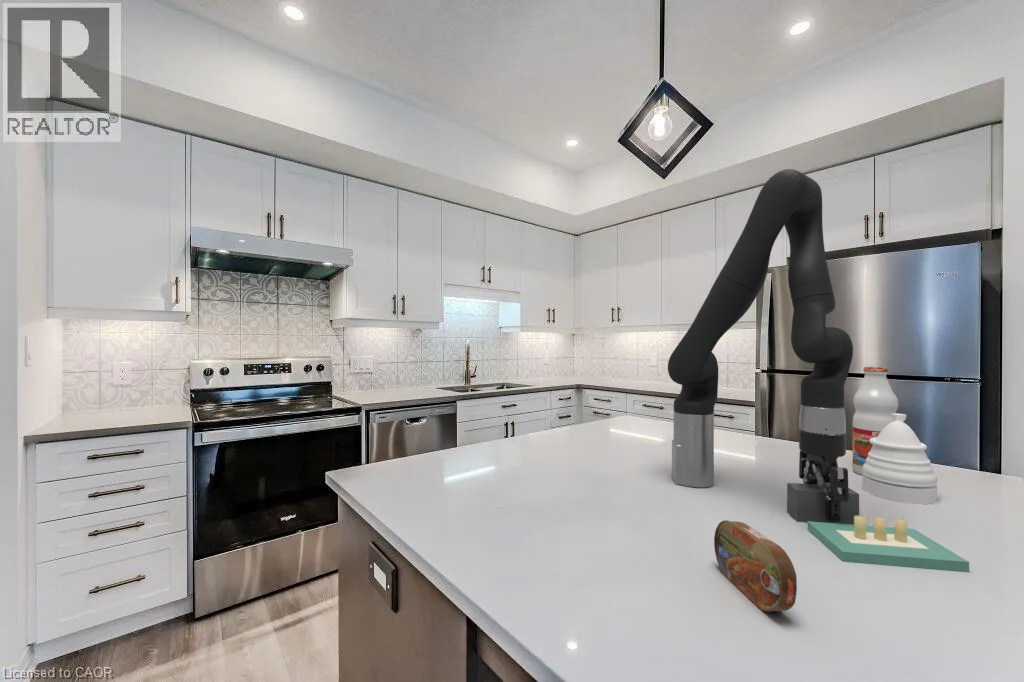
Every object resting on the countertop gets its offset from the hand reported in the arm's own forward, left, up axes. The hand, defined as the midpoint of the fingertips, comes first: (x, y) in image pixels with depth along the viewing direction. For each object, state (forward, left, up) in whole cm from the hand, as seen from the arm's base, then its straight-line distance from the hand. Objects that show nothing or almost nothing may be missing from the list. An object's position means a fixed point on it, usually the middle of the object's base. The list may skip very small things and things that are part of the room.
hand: (821, 511), depth 87 cm
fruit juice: (+28, +35, -2) cm, 45 cm away
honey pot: (+24, +19, -2) cm, 31 cm away
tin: (-22, -30, -2) cm, 37 cm away
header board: (+3, -12, -1) cm, 13 cm away
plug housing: (0, 0, -1) cm, 1 cm away
